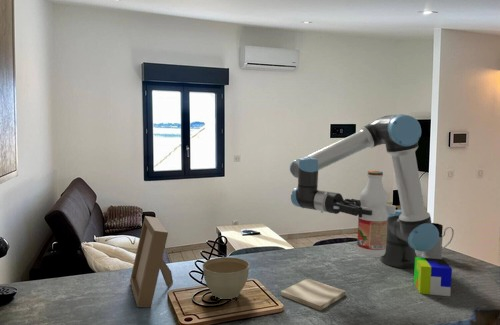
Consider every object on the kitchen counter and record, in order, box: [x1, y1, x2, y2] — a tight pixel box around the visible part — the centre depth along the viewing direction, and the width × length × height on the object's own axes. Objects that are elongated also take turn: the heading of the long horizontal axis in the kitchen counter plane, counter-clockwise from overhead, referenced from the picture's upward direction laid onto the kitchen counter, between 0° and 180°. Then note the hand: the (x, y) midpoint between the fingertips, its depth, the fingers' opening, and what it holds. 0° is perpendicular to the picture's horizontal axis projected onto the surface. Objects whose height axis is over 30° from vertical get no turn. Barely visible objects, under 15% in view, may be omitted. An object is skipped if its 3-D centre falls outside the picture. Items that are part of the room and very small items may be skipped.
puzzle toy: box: [413, 256, 453, 297], centre depth 140 cm, size 10×10×10 cm
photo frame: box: [129, 215, 174, 308], centre depth 133 cm, size 15×22×25 cm
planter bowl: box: [202, 256, 251, 300], centre depth 133 cm, size 16×16×11 cm
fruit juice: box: [356, 170, 389, 258], centre depth 130 cm, size 9×9×28 cm
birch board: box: [280, 278, 346, 312], centre depth 134 cm, size 16×16×2 cm
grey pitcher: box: [421, 222, 455, 259], centre depth 176 cm, size 9×14×15 cm, turn 96°
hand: (389, 212), depth 126 cm, fingers closed on fruit juice, 9 cm apart
